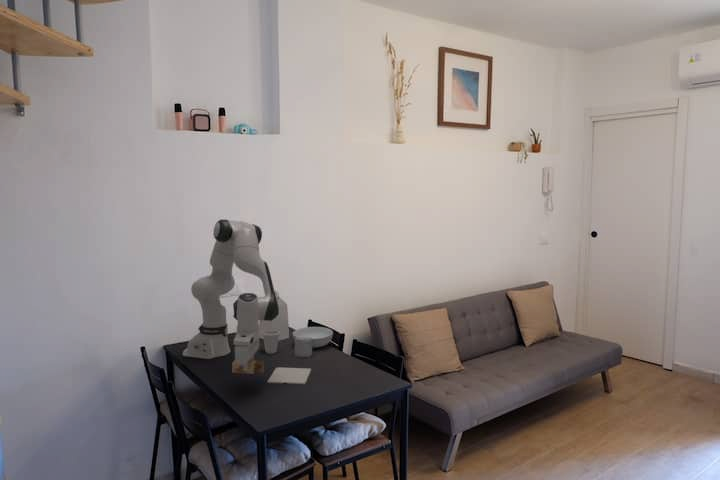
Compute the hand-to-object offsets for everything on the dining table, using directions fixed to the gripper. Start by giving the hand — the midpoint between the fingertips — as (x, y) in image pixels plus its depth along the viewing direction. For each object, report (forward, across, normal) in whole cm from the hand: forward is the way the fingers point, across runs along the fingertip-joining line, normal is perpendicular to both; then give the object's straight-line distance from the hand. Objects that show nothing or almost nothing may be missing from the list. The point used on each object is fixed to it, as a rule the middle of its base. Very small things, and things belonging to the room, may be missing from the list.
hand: (248, 367), depth 198 cm
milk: (+10, -68, -7) cm, 69 cm away
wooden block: (+2, 0, 0) cm, 2 cm away
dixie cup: (+10, -46, -3) cm, 47 cm away
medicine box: (+10, -42, +14) cm, 46 cm away
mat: (+10, -16, +14) cm, 23 cm away
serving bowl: (+10, -58, +16) cm, 61 cm away
